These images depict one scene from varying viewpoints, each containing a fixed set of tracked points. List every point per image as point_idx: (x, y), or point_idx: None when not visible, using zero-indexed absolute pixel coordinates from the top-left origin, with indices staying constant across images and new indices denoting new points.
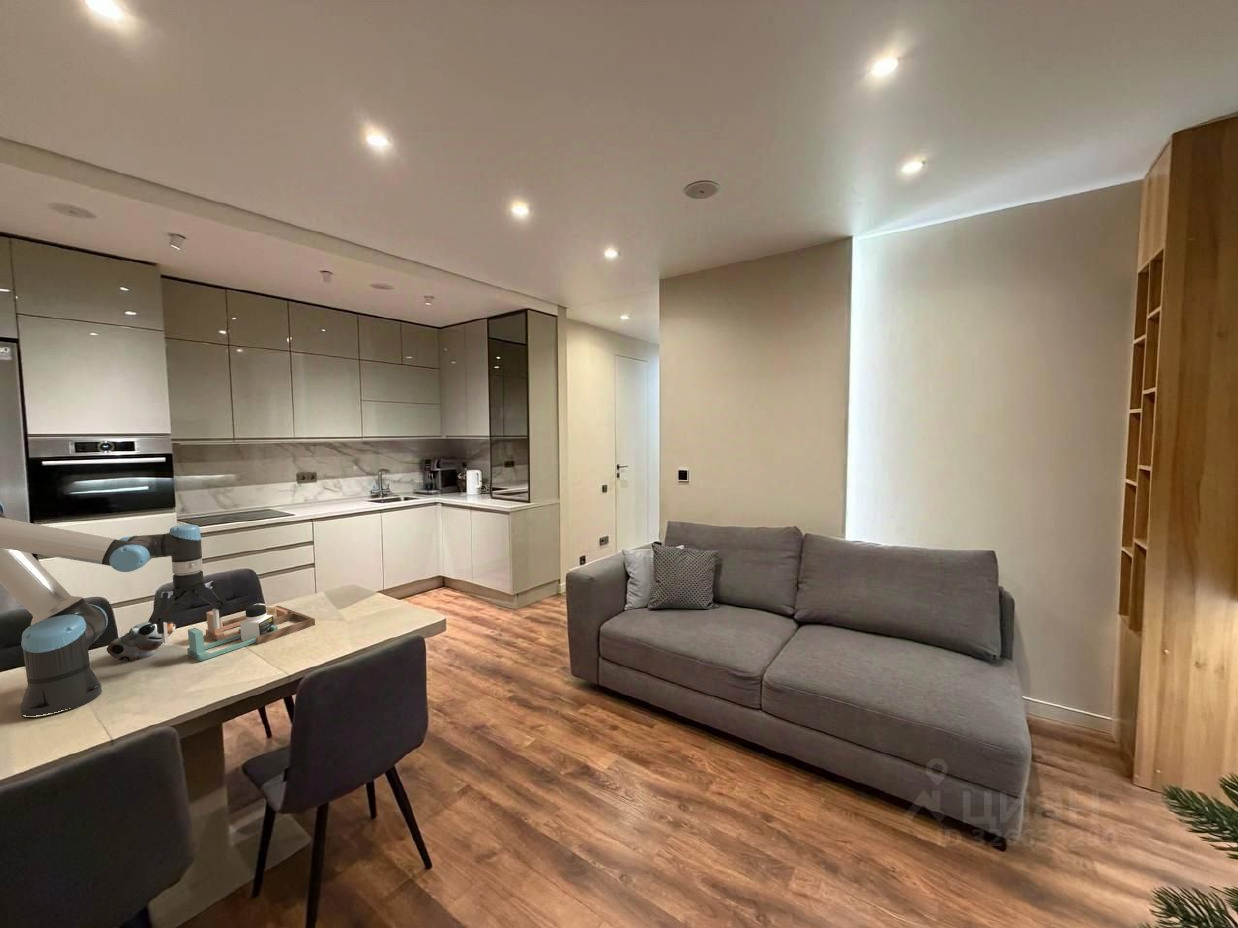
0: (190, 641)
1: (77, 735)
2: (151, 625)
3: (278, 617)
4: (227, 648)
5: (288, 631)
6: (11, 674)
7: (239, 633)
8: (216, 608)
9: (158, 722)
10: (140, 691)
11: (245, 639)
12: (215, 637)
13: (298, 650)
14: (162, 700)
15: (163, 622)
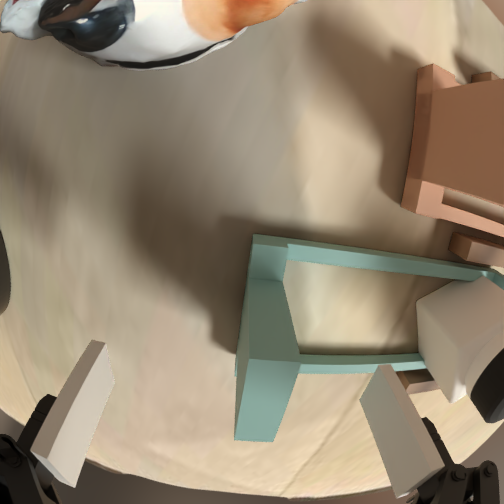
0: (244, 330)
1: (22, 404)
2: (84, 16)
3: None
4: (330, 372)
5: None
6: None
7: (458, 242)
8: (430, 480)
9: (103, 464)
10: None
11: (419, 319)
12: (412, 179)
13: (366, 457)
14: (109, 436)
15: (54, 486)
